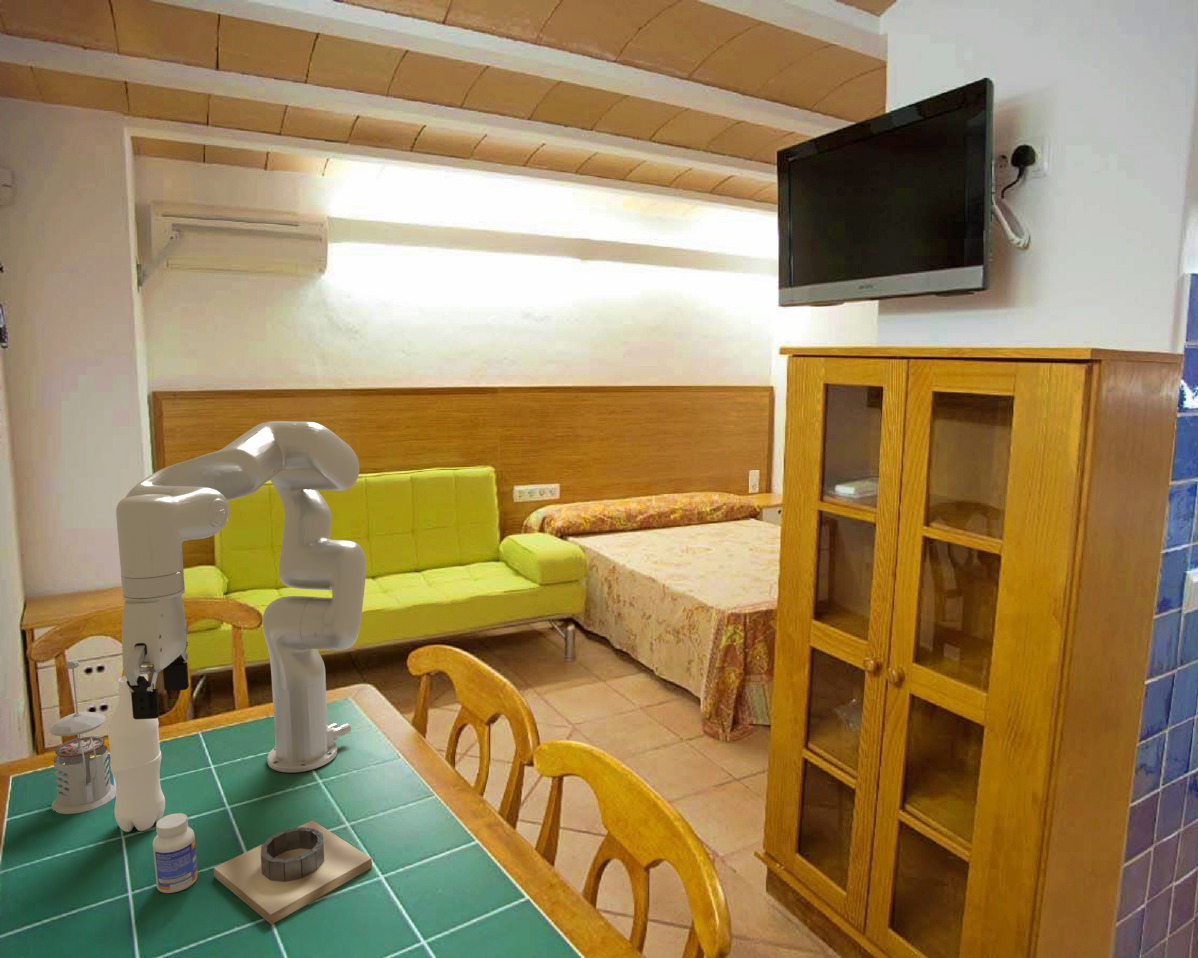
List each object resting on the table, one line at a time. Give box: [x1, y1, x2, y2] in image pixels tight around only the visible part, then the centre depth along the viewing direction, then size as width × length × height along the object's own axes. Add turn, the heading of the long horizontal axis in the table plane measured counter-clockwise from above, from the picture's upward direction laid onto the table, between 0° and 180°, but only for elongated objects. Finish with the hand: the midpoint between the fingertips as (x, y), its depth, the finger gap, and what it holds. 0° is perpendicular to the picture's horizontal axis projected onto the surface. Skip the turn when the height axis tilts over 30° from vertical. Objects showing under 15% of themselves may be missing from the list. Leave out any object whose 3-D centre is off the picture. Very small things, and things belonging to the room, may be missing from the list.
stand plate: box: [213, 820, 373, 925], centre depth 119 cm, size 16×16×2 cm
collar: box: [261, 826, 324, 882], centre depth 119 cm, size 9×9×3 cm
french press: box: [49, 659, 116, 815], centre depth 137 cm, size 10×12×25 cm
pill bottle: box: [152, 812, 199, 894], centre depth 116 cm, size 5×5×10 cm
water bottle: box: [107, 675, 166, 833], centre depth 130 cm, size 7×7×25 cm
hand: (162, 703), depth 113 cm, fingers open, 9 cm apart
